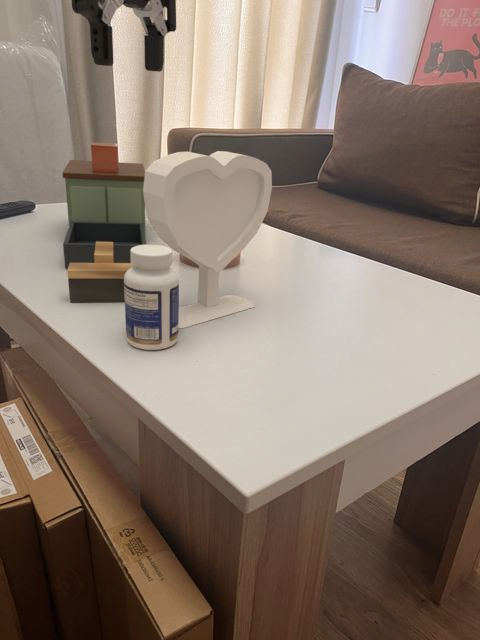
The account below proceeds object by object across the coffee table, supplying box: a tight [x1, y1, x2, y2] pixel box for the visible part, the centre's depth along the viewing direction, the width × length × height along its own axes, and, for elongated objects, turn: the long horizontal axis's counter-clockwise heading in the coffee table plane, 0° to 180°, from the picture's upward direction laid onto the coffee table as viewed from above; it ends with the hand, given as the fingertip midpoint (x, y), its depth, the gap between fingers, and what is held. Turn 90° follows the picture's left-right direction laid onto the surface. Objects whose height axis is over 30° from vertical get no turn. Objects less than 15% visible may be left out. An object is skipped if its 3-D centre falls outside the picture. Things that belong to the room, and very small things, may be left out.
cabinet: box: [62, 159, 147, 238], centre depth 90 cm, size 13×15×11 cm
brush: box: [66, 242, 133, 303], centre depth 66 cm, size 9×8×5 cm
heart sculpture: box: [143, 150, 273, 329], centre depth 60 cm, size 16×5×18 cm, turn 136°
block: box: [90, 141, 119, 173], centre depth 84 cm, size 4×4×4 cm
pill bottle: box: [124, 244, 180, 351], centre depth 53 cm, size 5×5×10 cm
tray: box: [62, 221, 148, 270], centre depth 79 cm, size 11×13×4 cm
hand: (130, 68), depth 60 cm, fingers open, 8 cm apart
